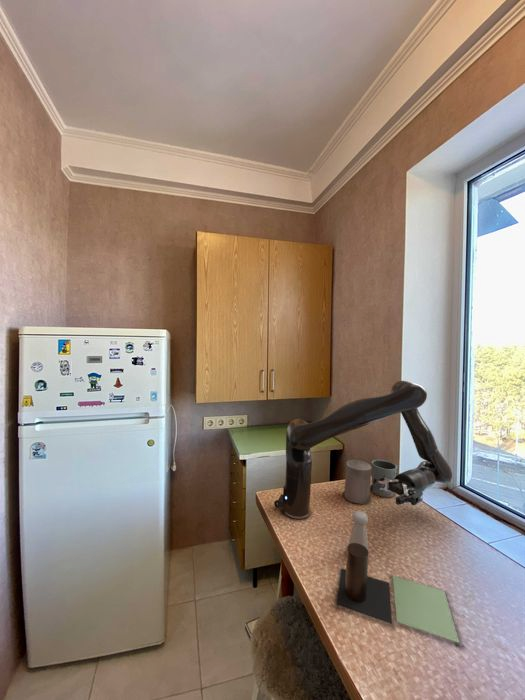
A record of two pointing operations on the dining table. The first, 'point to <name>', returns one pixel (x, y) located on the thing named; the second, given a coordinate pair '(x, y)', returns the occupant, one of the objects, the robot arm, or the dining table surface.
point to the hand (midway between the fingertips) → (383, 495)
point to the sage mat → (423, 608)
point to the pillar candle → (357, 481)
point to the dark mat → (368, 599)
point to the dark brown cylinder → (356, 572)
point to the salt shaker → (359, 529)
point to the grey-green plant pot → (383, 469)
